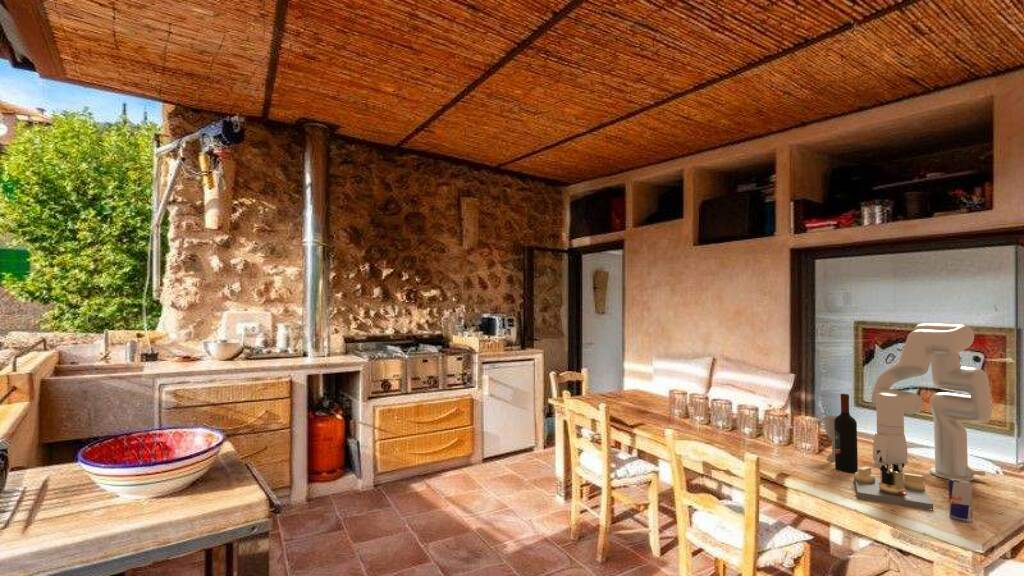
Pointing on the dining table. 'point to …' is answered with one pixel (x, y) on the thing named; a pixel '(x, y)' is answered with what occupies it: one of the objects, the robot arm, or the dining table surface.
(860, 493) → the base
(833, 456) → the chalice
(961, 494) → the energy drink
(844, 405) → the wine bottle
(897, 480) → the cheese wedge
